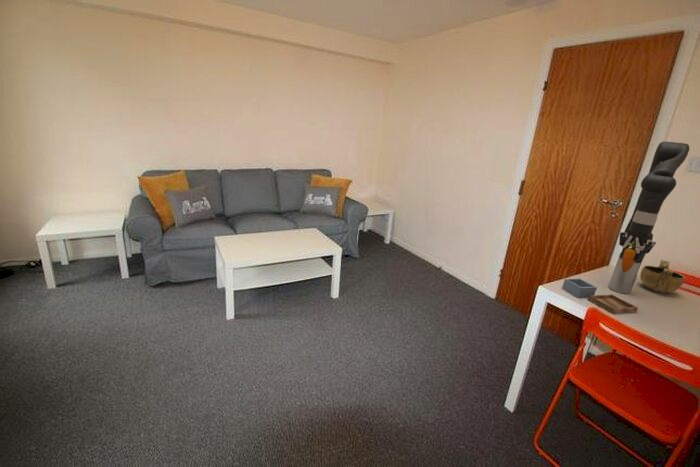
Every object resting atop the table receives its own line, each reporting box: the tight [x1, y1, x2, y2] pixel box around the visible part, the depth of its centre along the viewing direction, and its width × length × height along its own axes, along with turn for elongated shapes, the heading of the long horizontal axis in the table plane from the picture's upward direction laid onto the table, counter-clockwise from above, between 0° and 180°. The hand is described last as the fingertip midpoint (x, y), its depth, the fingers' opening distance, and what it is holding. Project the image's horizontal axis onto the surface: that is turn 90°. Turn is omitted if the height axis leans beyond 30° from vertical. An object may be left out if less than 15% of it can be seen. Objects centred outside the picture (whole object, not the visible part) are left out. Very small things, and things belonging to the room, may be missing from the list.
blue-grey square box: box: [561, 278, 598, 299], centre depth 166 cm, size 10×10×6 cm
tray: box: [587, 294, 639, 315], centre depth 156 cm, size 14×12×2 cm
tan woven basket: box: [639, 259, 686, 294], centre depth 178 cm, size 22×17×15 cm
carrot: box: [622, 241, 642, 272], centre depth 149 cm, size 5×5×15 cm
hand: (629, 258), depth 149 cm, fingers closed on carrot, 4 cm apart
